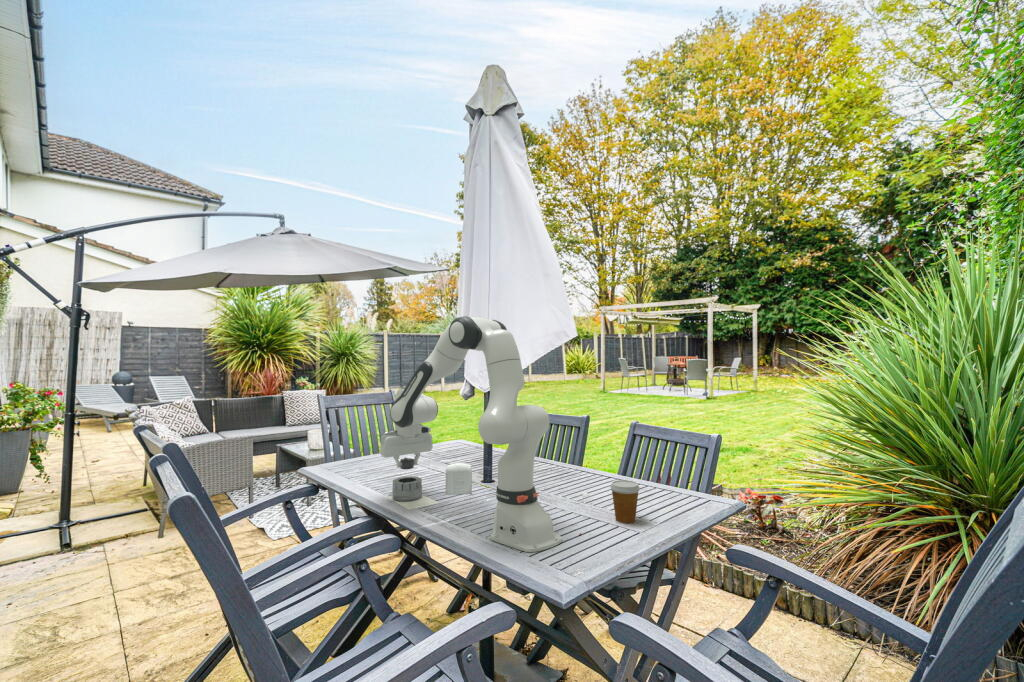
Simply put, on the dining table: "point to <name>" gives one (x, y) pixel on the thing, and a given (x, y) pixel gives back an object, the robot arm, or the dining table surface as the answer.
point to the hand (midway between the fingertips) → (407, 465)
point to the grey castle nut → (407, 489)
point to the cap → (407, 463)
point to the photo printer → (459, 479)
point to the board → (416, 502)
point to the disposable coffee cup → (625, 500)
